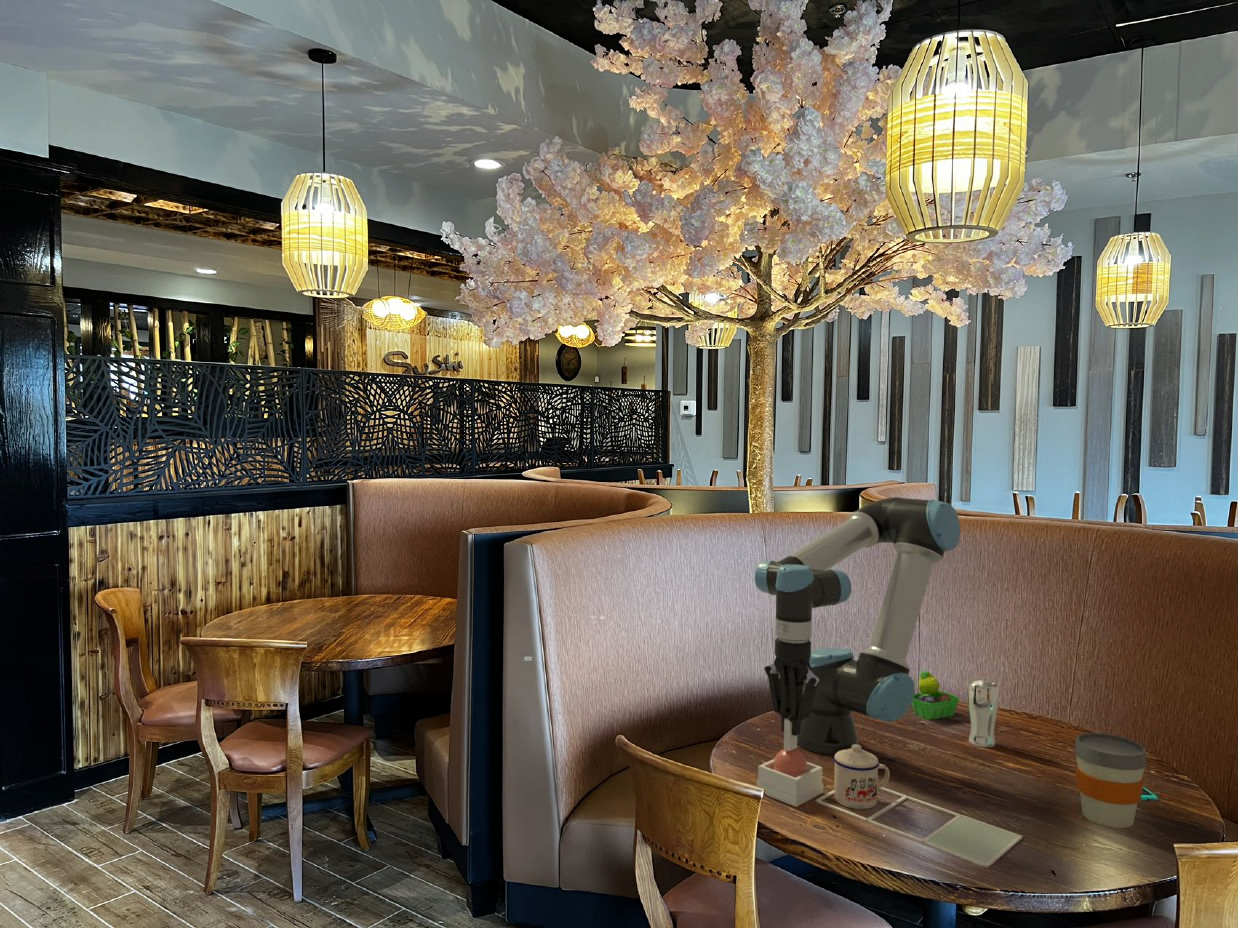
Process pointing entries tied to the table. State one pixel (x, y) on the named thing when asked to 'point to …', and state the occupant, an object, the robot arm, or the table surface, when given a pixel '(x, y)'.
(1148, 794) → the handheld game console
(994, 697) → the beer glass
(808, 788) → the grey square box
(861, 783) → the teacup with lid
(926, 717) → the fruit basket
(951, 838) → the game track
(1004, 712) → the table surface
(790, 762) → the red ball
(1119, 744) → the reusable coffee cup
